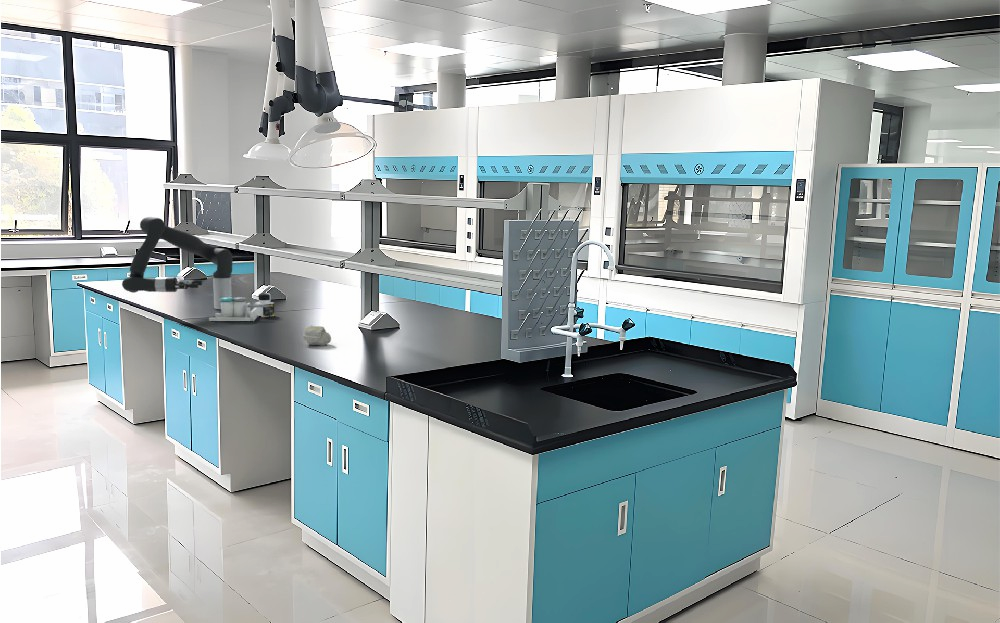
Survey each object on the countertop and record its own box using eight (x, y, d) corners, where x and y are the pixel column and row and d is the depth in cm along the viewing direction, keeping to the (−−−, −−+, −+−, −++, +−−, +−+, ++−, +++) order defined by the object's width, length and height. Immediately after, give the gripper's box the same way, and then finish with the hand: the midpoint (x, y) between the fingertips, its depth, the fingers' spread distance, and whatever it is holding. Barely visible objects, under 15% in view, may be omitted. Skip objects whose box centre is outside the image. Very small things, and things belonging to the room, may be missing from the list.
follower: (248, 317, 397) (248, 302, 396) (270, 317, 399) (270, 302, 397) (245, 321, 387) (244, 305, 386) (267, 321, 389) (267, 305, 387)
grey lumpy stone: (331, 347, 334) (329, 344, 343) (332, 328, 333) (330, 326, 343) (303, 346, 330) (301, 343, 339) (304, 327, 329) (302, 324, 339)
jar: (222, 318, 393) (221, 297, 391) (235, 318, 394) (234, 297, 392) (219, 320, 387) (218, 299, 385) (232, 320, 388) (231, 299, 386)
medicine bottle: (263, 317, 399) (262, 294, 397) (255, 315, 403) (254, 293, 401) (274, 315, 404) (274, 293, 403) (266, 314, 409) (266, 292, 407)
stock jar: (234, 318, 394) (234, 297, 392) (247, 318, 395) (247, 297, 393) (232, 320, 388) (232, 299, 386) (245, 320, 389) (245, 299, 387)
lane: (215, 316, 397) (215, 307, 396) (257, 316, 400) (257, 307, 400) (208, 322, 381) (208, 312, 381) (252, 322, 385) (252, 312, 384)
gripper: (161, 279, 376) (196, 279, 378) (169, 275, 389) (202, 275, 392) (162, 294, 377) (197, 293, 379) (170, 289, 391) (203, 289, 393)
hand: (200, 284), depth 386 cm, fingers open, 8 cm apart
